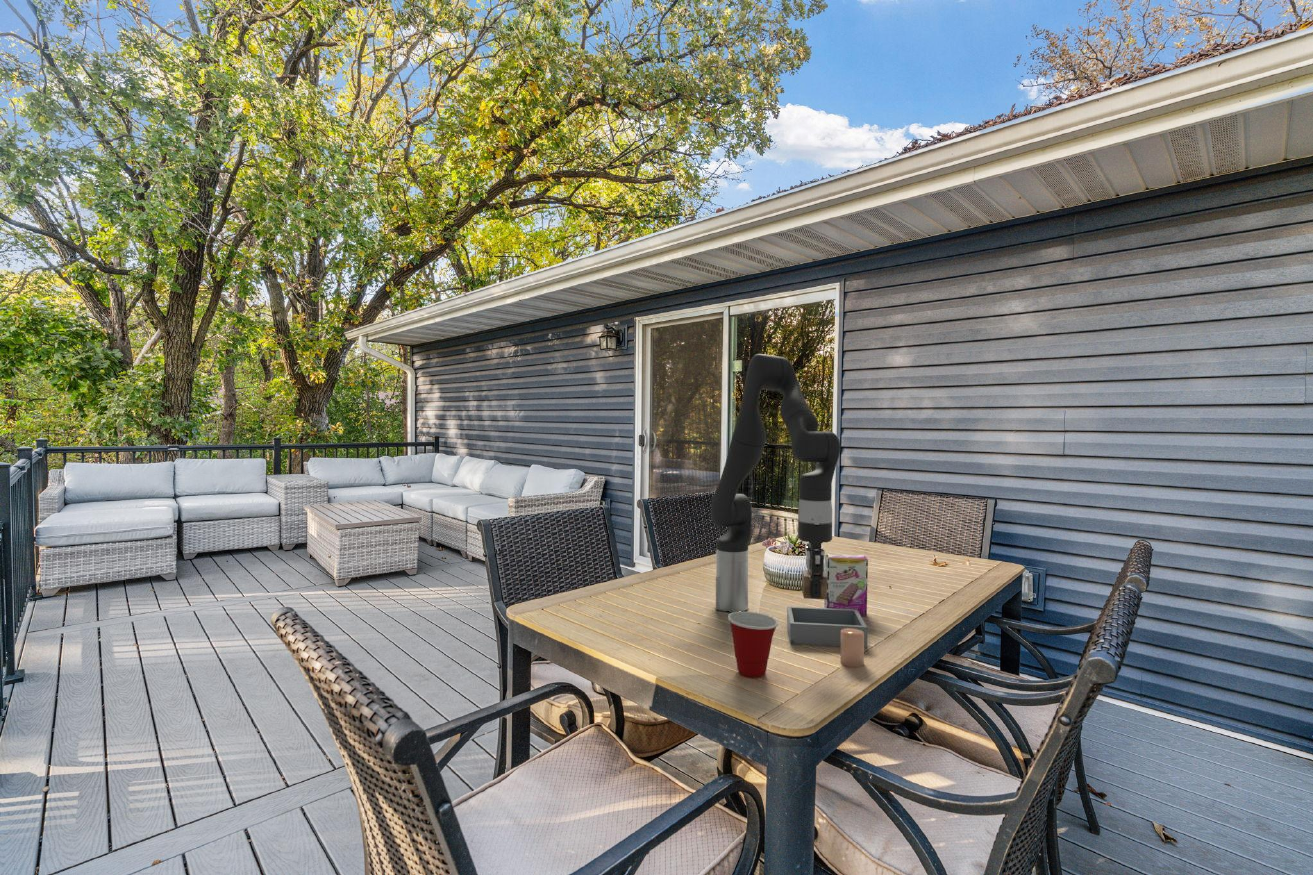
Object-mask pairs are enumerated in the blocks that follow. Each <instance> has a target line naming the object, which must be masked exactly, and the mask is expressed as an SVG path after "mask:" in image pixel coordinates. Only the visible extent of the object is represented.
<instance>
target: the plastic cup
mask: <svg viewBox="0 0 1313 875" xmlns="http://www.w3.org/2000/svg"><path fill="white" fill-rule="evenodd" d="M727 619H728V621H729V625H730V628H731V629H730V630H731V634H732V636H731V637H732V642H733V649H734V656H735V660H736V666H737V671H738V674H740V675H741V676H743V677H745V678H750V679H751V678H752V679H756V678H757V679H758V678H762V677H764V676H765V675H766V672H767V667H768V660H769V659H770V651H771V649H772V648H771V647H772V642H773V637H774V634H775V631H776V628H777V627H778V626H779V621H778V620H777V619H776V618H774V617H773V616H769V615H767V614H765V613H760V612H756V611H755V612H753V611H741V612H730V613H729V614H727Z"/></svg>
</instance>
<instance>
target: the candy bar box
mask: <svg viewBox="0 0 1313 875" xmlns="http://www.w3.org/2000/svg"><path fill="white" fill-rule="evenodd" d="M868 565H869V559H868V558H867V556H865V555H864V554H863V555H861V554H836V553H833V554H832V553H825V556H824V572H825V573H826V576H827V600H825V599H823V600H824V602H823V603H824V604H823V605H824V606H823V608H831V609H852V610H858V612H859V614H860V616H861V617H867V614H868V610H867V609H868V572H869V571H868V570H869V566H868Z"/></svg>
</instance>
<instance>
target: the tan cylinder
mask: <svg viewBox="0 0 1313 875" xmlns="http://www.w3.org/2000/svg"><path fill="white" fill-rule="evenodd" d="M840 663H841V664H842V665H843V666H845V667H848V668H849V667H850V668H861V667H864V665H865V648H864V632H863V631H861V630H858V629H853V628H845V629H842V630H841V647H840Z"/></svg>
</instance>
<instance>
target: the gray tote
mask: <svg viewBox="0 0 1313 875" xmlns="http://www.w3.org/2000/svg"><path fill="white" fill-rule="evenodd" d="M786 628H787V633H788V638H789V644H790V645H805V646H806V645H807V646H809V645H810V646H822V647H823V646H826V647H839V648H841V630H842V629H845V628H853V629H858V630H861V631H863V632H864V649H868V626H867V624H866V623H865V621H864V619H863V616H860V614H859V612H858V610H852V609H831V608H824V607H809V606H808V607H805V606H786Z"/></svg>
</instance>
